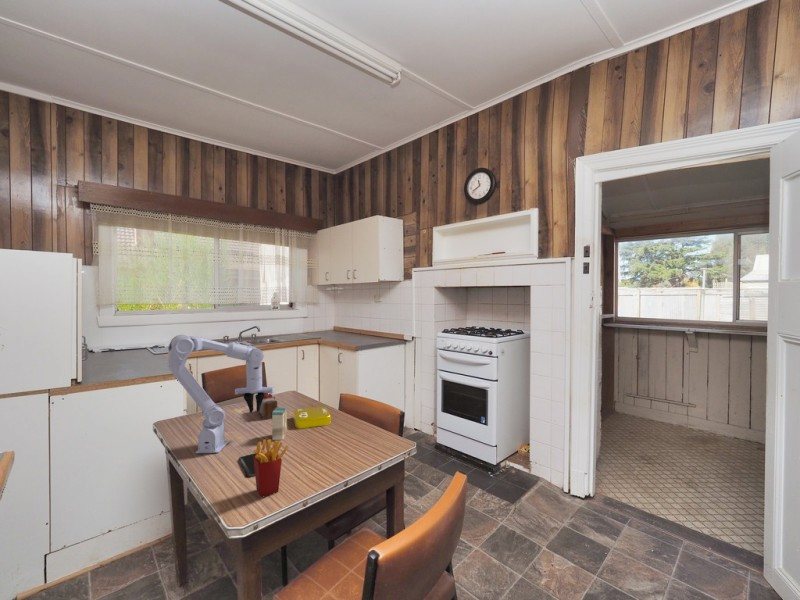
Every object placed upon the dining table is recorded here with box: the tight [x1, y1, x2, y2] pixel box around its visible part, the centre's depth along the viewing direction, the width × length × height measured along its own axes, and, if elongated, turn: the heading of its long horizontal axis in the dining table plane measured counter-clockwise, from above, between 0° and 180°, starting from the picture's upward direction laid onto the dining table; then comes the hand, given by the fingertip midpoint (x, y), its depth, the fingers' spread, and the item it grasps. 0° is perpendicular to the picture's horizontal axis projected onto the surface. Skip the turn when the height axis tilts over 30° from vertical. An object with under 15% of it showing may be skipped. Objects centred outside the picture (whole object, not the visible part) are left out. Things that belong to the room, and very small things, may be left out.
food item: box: [258, 393, 279, 420], centre depth 166 cm, size 14×8×10 cm, turn 34°
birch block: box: [271, 406, 287, 441], centre depth 140 cm, size 6×4×11 cm, turn 5°
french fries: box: [253, 438, 290, 498], centre depth 103 cm, size 9×8×15 cm
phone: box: [238, 451, 261, 479], centre depth 117 cm, size 8×1×15 cm
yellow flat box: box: [293, 405, 332, 430], centre depth 158 cm, size 15×15×5 cm
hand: (254, 411), depth 140 cm, fingers open, 2 cm apart
